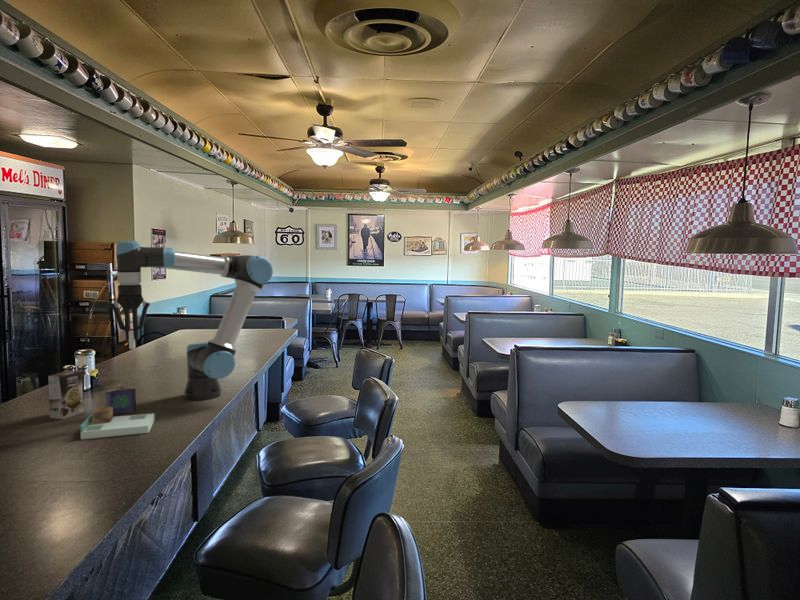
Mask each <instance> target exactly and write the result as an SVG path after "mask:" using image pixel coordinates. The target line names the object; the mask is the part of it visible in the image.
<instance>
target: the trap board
mask: <svg viewBox="0 0 800 600" xmlns="http://www.w3.org/2000/svg"><path fill="white" fill-rule="evenodd" d="M155 420H156V419H155V413H153V412H152V413H142V414H132V415H130V414H129V415H117V416H113V419H112V420H111V422H108V423H97V424H94V422H93V412H91V413H90V415H89V416H88V417H87V418H86V419H85V421H83V422H82V423H81V424H80V426H79V427H80V440H91V439H97V438H98V439H99V438H109V437H120V436H129V435H139V434H141V435H142V434H149V433H150V431H151V428H152V427H153V424H154V423H155Z"/></svg>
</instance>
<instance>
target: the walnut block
mask: <svg viewBox="0 0 800 600" xmlns="http://www.w3.org/2000/svg"><path fill="white" fill-rule="evenodd" d="M92 413H93V422H94V424H97V423H108V422H111V420H112V419H113V417H114V416H113V407H106V406H105V407H98V408H96V409H95V410H94V411H92Z"/></svg>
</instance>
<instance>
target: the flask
mask: <svg viewBox="0 0 800 600" xmlns="http://www.w3.org/2000/svg"><path fill="white" fill-rule="evenodd" d="M136 394H137V393H136V388H135V386H130V385H129V386H124V385H123V383H118V385H117V388H115V389H108V390H106V391H105V403H106V406H105V408H106V407H113V417H115V416H123V415H124V414H125V415H127V414H134V413H137V400H136V399H137V395H136Z"/></svg>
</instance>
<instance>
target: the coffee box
mask: <svg viewBox="0 0 800 600" xmlns="http://www.w3.org/2000/svg"><path fill="white" fill-rule="evenodd" d="M82 372H83V371H80V370H67V371H62V372H59V373H55V374H50V375H48V380H47V381H48V400H49V401H48V402H49V418H50V419H58V420H65V419H68V418H71V417H73V416H77V415H79V414H81V413H84V394H83V393H84V392H83V373H82Z"/></svg>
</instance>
